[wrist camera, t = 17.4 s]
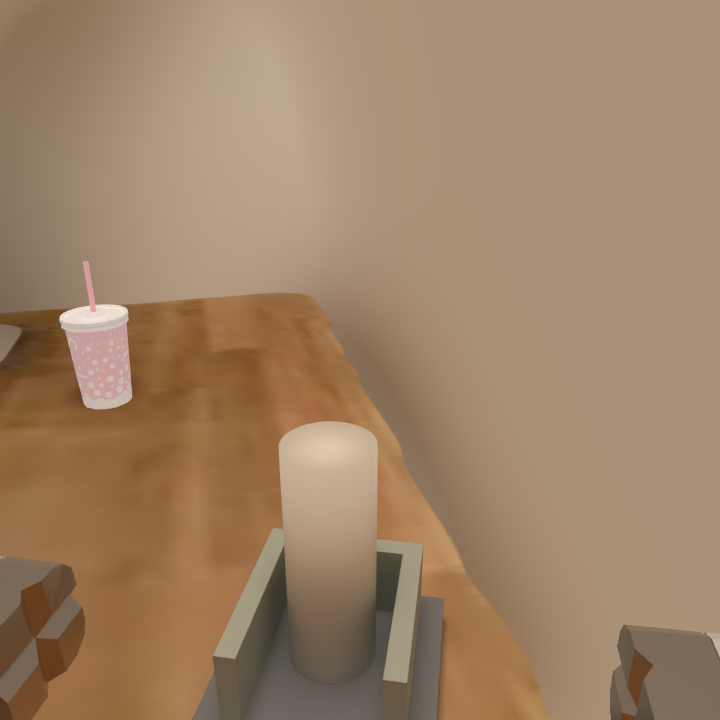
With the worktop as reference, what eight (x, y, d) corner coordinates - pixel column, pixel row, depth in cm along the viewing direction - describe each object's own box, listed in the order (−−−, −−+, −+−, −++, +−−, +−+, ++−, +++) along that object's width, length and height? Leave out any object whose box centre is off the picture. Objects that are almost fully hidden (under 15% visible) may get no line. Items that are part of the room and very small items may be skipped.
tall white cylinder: (380, 621, 35) (383, 425, 30) (368, 689, 31) (369, 475, 26) (301, 611, 35) (293, 418, 31) (279, 677, 31) (266, 466, 27)
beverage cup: (81, 389, 66) (57, 256, 61) (143, 384, 67) (124, 253, 62) (69, 415, 61) (41, 271, 55) (136, 409, 62) (116, 268, 57)
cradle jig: (443, 619, 37) (447, 540, 35) (427, 866, 25) (433, 769, 23) (259, 596, 38) (253, 520, 36) (163, 818, 27) (146, 723, 25)
